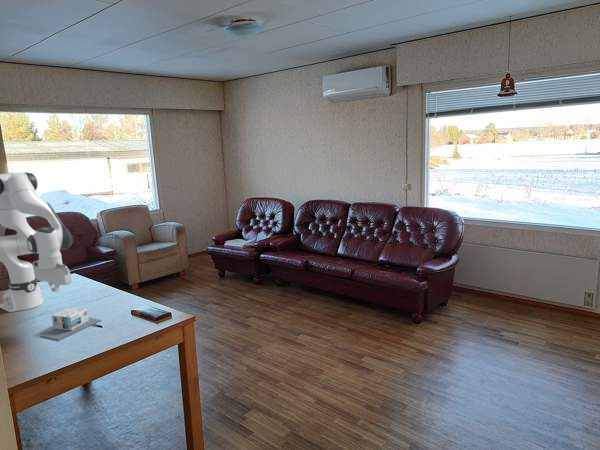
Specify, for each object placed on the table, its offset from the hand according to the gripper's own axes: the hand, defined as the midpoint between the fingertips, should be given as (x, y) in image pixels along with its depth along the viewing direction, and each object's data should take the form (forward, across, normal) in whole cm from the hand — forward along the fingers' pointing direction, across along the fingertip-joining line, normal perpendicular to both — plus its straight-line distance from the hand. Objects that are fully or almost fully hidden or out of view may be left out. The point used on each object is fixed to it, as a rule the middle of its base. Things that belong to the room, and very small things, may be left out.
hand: (55, 291), depth 194 cm
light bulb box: (+13, 0, 0) cm, 13 cm away
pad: (+17, -8, 0) cm, 19 cm away
